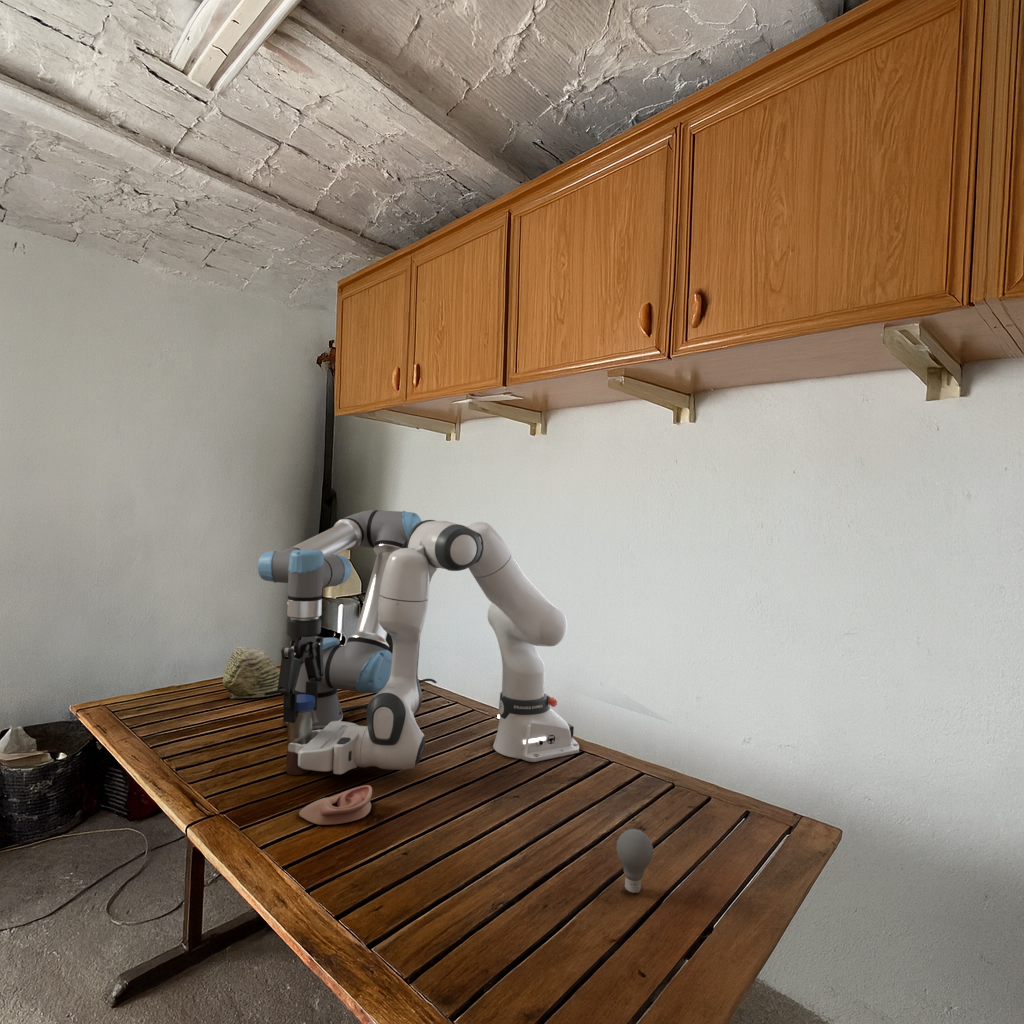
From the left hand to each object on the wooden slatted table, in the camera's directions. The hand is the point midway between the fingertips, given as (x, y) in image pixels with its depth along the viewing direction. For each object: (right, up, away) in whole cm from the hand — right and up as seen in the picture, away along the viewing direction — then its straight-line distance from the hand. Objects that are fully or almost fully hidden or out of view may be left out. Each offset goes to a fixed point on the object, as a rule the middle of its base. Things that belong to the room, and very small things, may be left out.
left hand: (300, 715), depth 146 cm
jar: (-1, -13, 0) cm, 13 cm away
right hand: (-1, -6, 0) cm, 6 cm away
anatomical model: (+13, -14, -18) cm, 27 cm away
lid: (0, +4, 0) cm, 4 cm away
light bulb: (+69, -16, -40) cm, 81 cm away
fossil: (-32, -10, +52) cm, 62 cm away
